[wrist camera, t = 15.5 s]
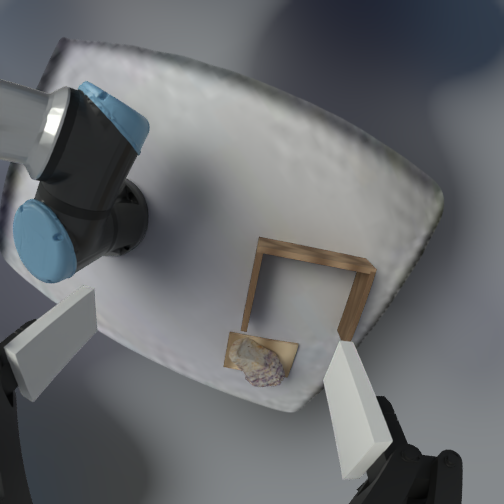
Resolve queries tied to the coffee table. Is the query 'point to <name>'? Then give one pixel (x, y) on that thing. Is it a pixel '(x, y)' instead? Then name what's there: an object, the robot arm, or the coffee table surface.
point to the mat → (281, 348)
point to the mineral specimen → (257, 363)
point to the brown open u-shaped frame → (324, 258)
